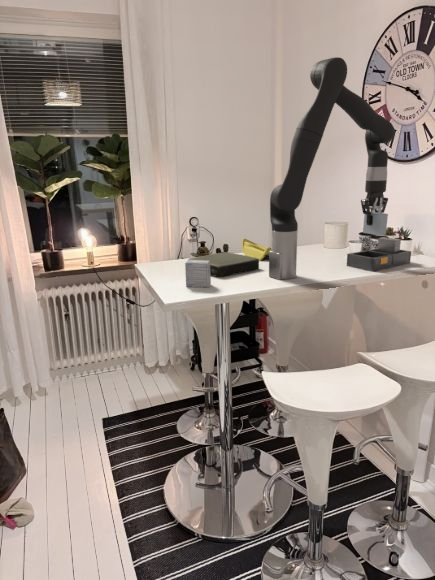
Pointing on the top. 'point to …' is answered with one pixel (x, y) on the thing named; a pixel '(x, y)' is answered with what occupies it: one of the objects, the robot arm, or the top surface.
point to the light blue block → (376, 224)
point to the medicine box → (197, 273)
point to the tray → (380, 256)
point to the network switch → (229, 263)
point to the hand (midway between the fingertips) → (372, 224)
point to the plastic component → (254, 249)
